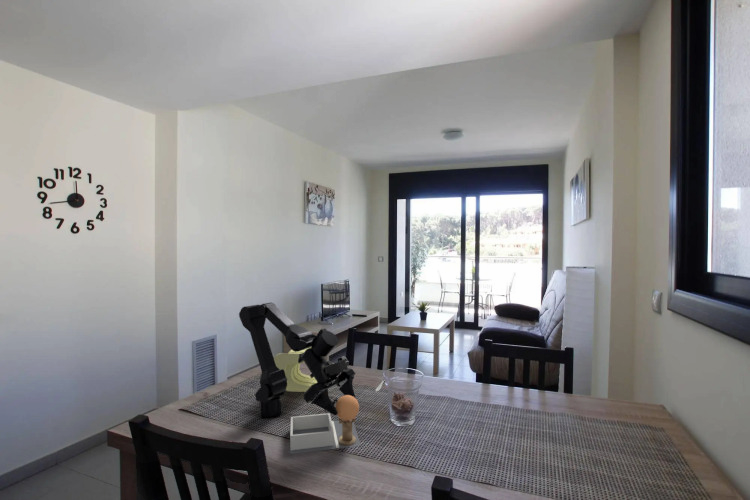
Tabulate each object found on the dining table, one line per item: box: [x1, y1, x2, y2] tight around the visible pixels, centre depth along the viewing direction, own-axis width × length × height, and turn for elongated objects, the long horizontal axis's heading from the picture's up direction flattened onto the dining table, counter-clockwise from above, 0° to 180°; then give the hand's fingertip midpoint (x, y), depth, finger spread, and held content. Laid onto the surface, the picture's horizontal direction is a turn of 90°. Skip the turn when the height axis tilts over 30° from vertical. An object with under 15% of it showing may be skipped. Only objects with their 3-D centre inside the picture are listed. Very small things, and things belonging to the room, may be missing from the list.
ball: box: [334, 395, 360, 421], centre depth 109 cm, size 7×7×7 cm
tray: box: [289, 412, 334, 451], centre depth 111 cm, size 12×12×4 cm
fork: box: [375, 380, 385, 392], centre depth 158 cm, size 3×24×2 cm, turn 163°
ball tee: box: [338, 417, 356, 445], centre depth 109 cm, size 5×5×7 cm
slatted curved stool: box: [273, 347, 317, 393], centre depth 155 cm, size 30×16×18 cm, turn 174°
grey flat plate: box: [289, 420, 362, 455], centre depth 113 cm, size 20×17×1 cm
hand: (346, 408), depth 109 cm, fingers open, 9 cm apart
